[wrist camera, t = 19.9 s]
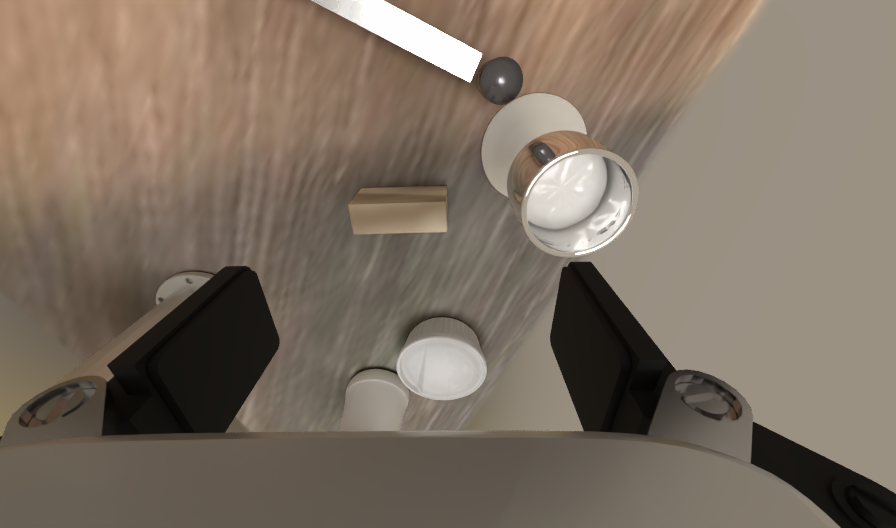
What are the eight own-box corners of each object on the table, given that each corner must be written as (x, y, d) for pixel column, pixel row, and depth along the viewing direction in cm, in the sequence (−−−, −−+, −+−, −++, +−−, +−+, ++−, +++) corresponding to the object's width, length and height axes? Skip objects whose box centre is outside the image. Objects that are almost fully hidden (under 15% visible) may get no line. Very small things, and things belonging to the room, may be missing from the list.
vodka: (422, 395, 51) (384, 731, 25) (374, 413, 53) (295, 735, 27) (386, 357, 47) (299, 709, 21) (336, 379, 49) (203, 716, 24)
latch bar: (501, 105, 29) (509, 111, 25) (167, -66, 24) (103, -97, 20) (519, 69, 28) (530, 69, 23) (168, -121, 23) (99, -167, 18)
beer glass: (505, 197, 34) (533, 274, 21) (484, 130, 31) (502, 172, 18) (573, 173, 33) (648, 240, 20) (558, 100, 29) (637, 122, 16)
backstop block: (448, 212, 36) (447, 231, 31) (366, 214, 36) (353, 234, 32) (447, 185, 34) (445, 201, 30) (361, 188, 35) (347, 204, 30)
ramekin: (387, 325, 44) (378, 354, 40) (463, 297, 42) (464, 325, 37) (425, 378, 49) (422, 409, 45) (495, 356, 46) (499, 387, 42)
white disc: (576, 198, 35) (578, 200, 34) (480, 201, 35) (481, 202, 34) (593, 90, 30) (596, 90, 29) (481, 95, 30) (482, 95, 29)
